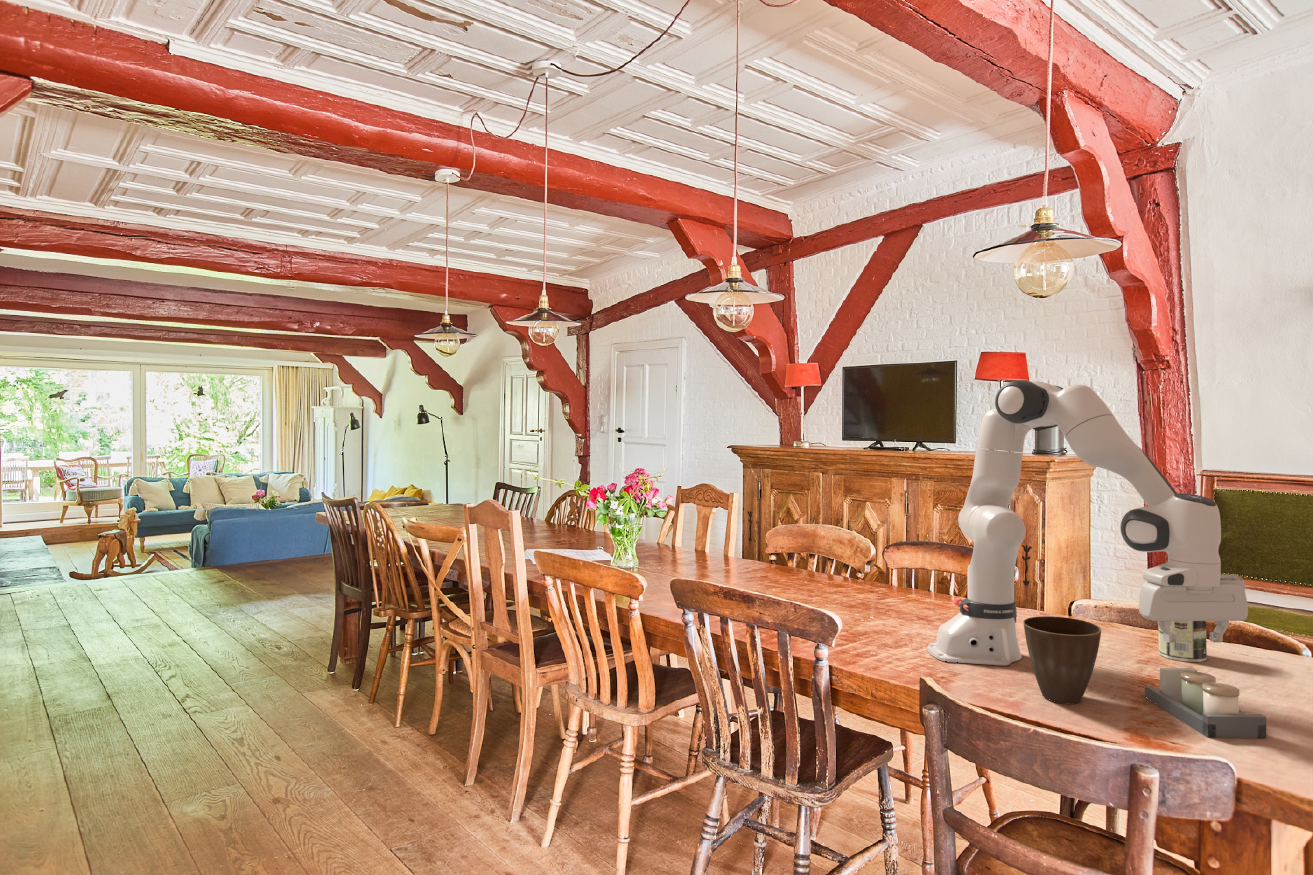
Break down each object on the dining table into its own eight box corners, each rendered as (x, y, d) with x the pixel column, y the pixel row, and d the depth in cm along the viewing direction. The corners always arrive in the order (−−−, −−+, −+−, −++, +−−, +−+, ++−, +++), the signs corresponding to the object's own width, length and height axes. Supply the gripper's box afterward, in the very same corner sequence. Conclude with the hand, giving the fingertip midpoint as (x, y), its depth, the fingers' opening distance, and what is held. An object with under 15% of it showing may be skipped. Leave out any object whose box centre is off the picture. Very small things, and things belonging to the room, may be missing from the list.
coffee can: (1194, 650, 196) (1194, 596, 196) (1215, 663, 186) (1215, 606, 186) (1150, 649, 199) (1150, 595, 198) (1168, 661, 188) (1168, 604, 188)
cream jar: (1214, 734, 145) (1214, 692, 145) (1195, 722, 151) (1195, 682, 151) (1246, 734, 145) (1246, 692, 144) (1226, 722, 150) (1226, 682, 150)
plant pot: (1118, 707, 159) (1118, 631, 159) (1057, 714, 156) (1056, 636, 156) (1066, 683, 174) (1065, 614, 173) (1008, 689, 171) (1008, 618, 170)
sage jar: (1174, 709, 158) (1174, 670, 158) (1203, 709, 157) (1203, 671, 157) (1192, 720, 152) (1191, 680, 152) (1222, 720, 151) (1222, 680, 151)
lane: (1207, 737, 144) (1207, 716, 143) (1144, 697, 164) (1144, 679, 164) (1266, 738, 143) (1266, 717, 143) (1195, 697, 164) (1195, 679, 164)
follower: (1163, 702, 161) (1163, 669, 161) (1153, 696, 164) (1153, 664, 164) (1197, 702, 160) (1196, 669, 160) (1186, 696, 164) (1186, 664, 164)
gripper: (1232, 571, 158) (1231, 637, 158) (1134, 571, 158) (1133, 637, 158) (1256, 577, 152) (1255, 646, 152) (1154, 577, 152) (1153, 646, 152)
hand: (1192, 641), depth 155 cm, fingers open, 8 cm apart
